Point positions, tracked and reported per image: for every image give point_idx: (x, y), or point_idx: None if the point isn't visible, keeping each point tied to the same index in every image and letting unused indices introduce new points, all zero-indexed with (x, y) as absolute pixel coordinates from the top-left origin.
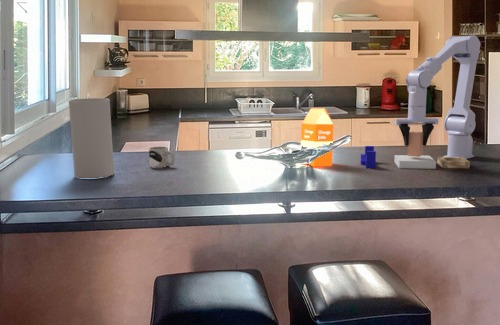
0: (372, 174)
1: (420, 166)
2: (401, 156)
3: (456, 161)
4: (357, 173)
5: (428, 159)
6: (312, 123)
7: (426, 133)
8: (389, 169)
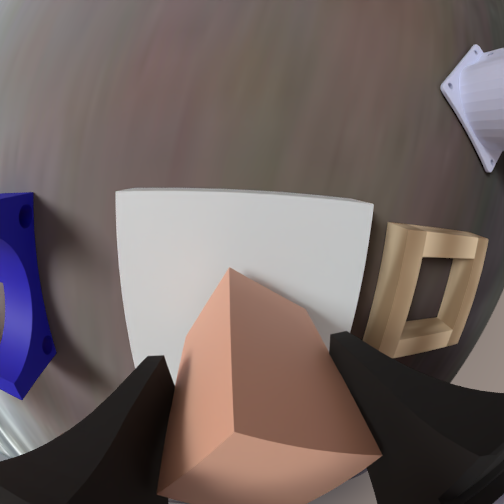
0: (73, 422)
1: None
2: (157, 245)
3: (423, 348)
4: (35, 402)
5: None
6: None
7: (371, 476)
8: (108, 374)
